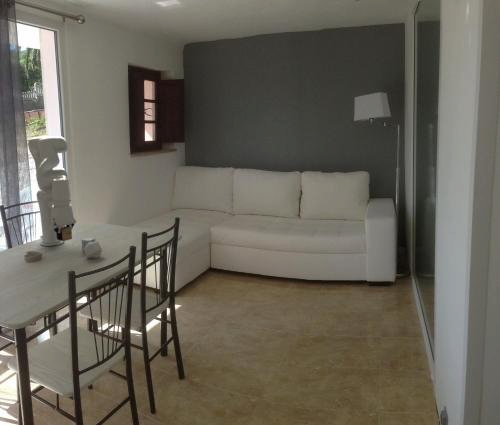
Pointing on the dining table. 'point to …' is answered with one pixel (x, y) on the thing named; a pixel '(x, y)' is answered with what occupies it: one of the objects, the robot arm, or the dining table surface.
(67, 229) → the walnut block
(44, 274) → the dining table surface
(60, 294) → the dining table surface
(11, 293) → the dining table surface
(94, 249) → the die
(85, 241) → the grey block
